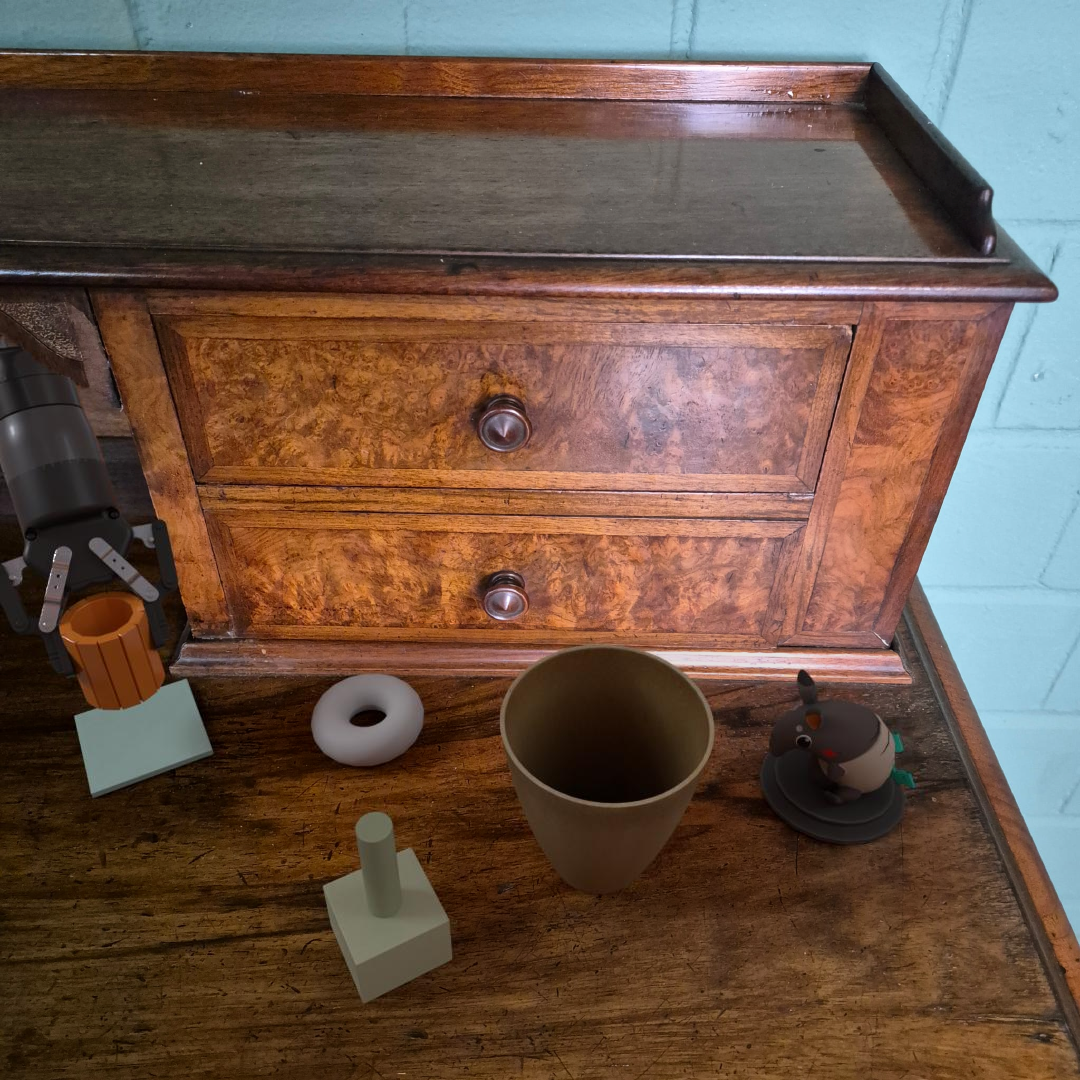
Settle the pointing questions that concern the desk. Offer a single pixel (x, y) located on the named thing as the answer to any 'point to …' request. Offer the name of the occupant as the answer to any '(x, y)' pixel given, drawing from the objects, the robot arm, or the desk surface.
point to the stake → (386, 913)
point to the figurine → (834, 770)
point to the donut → (375, 740)
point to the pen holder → (112, 650)
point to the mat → (142, 739)
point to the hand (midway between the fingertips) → (117, 661)
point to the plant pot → (604, 758)
